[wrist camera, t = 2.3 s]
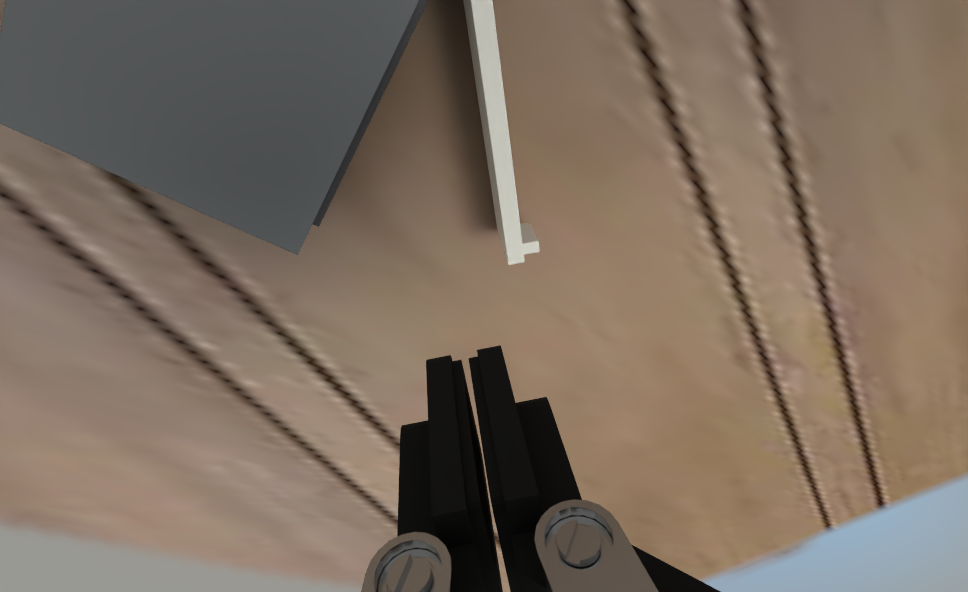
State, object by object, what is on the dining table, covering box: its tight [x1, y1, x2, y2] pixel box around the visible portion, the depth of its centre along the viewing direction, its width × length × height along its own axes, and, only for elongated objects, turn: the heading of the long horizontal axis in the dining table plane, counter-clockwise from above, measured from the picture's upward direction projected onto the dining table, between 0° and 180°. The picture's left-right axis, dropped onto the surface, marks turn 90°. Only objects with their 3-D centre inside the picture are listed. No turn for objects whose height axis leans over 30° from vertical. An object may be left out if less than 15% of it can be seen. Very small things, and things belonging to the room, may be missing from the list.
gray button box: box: [0, 0, 428, 255], centre depth 20 cm, size 14×15×5 cm
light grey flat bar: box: [463, 0, 540, 265], centre depth 23 cm, size 2×13×4 cm, turn 8°
